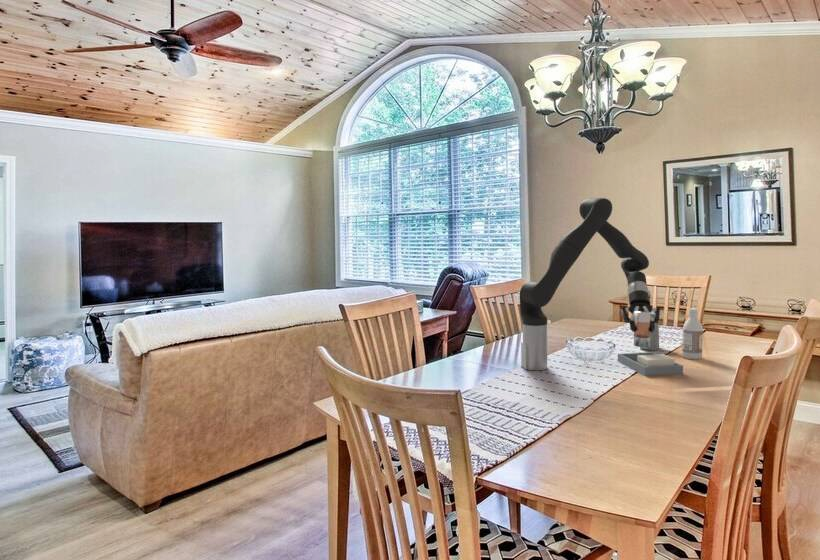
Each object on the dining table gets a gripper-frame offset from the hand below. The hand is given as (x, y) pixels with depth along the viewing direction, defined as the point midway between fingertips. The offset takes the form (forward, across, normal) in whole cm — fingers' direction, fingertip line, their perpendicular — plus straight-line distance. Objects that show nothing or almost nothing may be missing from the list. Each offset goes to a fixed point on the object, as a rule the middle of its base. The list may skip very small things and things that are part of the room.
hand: (642, 330), depth 191 cm
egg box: (+15, +3, +4) cm, 15 cm away
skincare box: (-13, +8, +34) cm, 37 cm away
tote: (+12, +2, +8) cm, 15 cm away
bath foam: (-3, +21, +24) cm, 32 cm away
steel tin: (+3, 0, +6) cm, 6 cm away
